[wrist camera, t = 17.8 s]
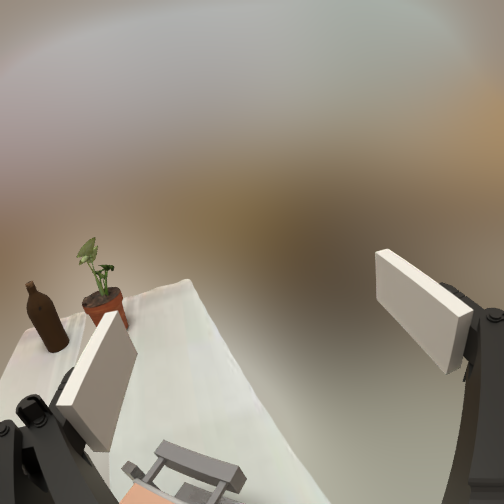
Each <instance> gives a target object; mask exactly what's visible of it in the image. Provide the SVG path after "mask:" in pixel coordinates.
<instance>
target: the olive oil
mask: <svg viewBox="0 0 504 504" xmlns="http://www.w3.org/2000/svg"><path fill="white" fill-rule="evenodd" d="M25 285H26V287H27V291H28V293H29V299H28V302H27V313H28V316H29V318H30V319H31V321H32V323H33V325H34V327H35V328H36V330H37V332H38V334H39V335H40V337H41V339H42V340H43V342H44V344H45V346H46V347H47V349H48V351H49V352H52V353H54V352H58V351H60V350H62V349H64V348H65V347H66V346H67V345H68V343H69V339H68V336H67V334H66V332H65V330H64V328H63V326H62V324H61V321H60V319H59V317H58V314H57V312H56V309H55V307H54V305H53V302H52V301H51V299H50V298H49V297H48V296H47V295H45V294H42V293H40V292H38V291H37V290H36V287H35V285H34V283H33V281H30V282H28V283H26V284H25Z"/></svg>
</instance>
